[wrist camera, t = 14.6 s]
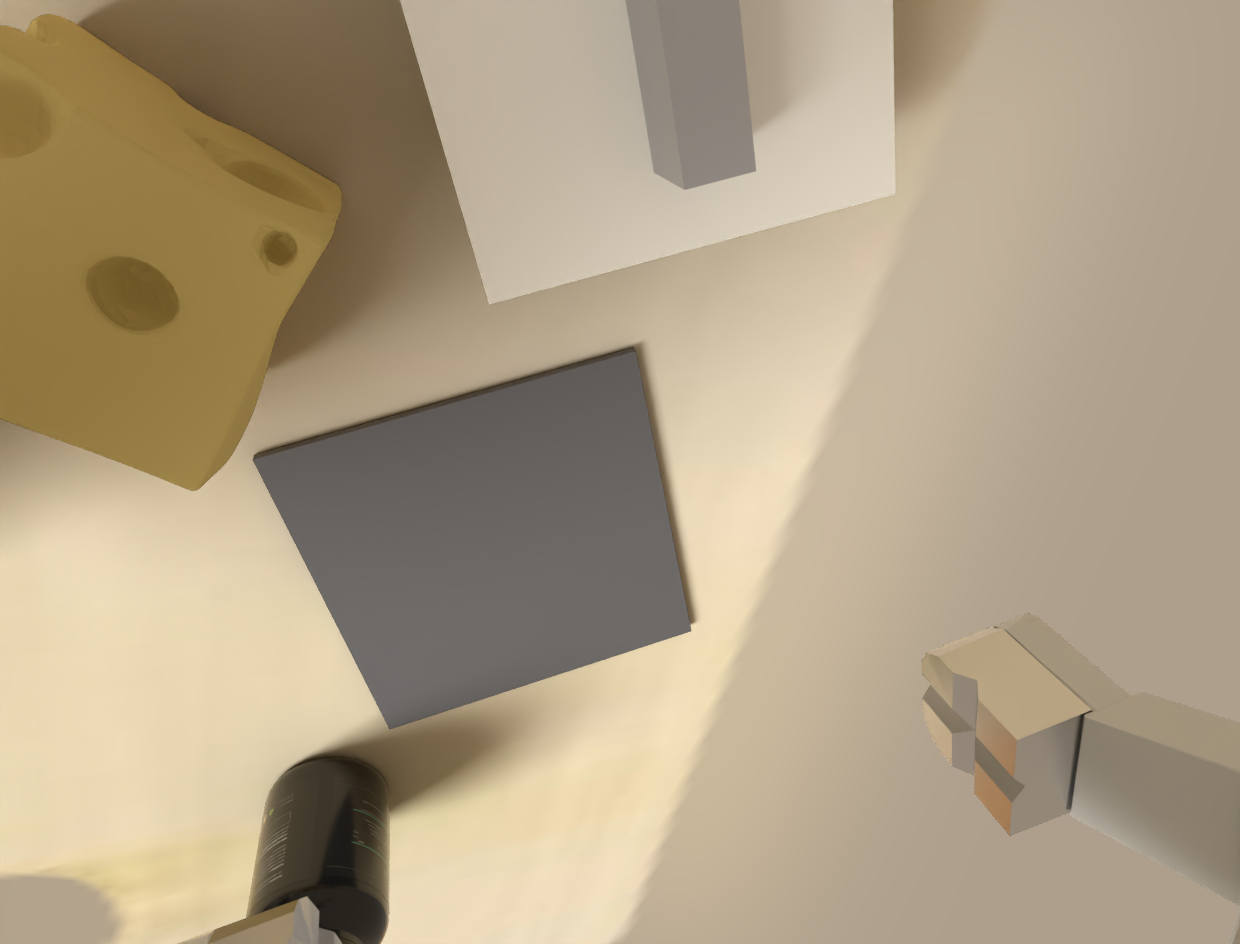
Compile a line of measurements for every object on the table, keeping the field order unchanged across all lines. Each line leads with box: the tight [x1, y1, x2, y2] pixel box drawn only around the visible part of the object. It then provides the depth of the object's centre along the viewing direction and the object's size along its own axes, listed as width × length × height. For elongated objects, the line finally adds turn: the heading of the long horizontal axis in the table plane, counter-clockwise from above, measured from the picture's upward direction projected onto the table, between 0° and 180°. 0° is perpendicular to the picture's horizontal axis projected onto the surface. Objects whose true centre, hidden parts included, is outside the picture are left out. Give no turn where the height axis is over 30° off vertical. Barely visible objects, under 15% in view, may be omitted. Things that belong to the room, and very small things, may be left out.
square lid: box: [400, 0, 896, 305], centre depth 24 cm, size 16×16×4 cm
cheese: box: [0, 14, 342, 491], centre depth 27 cm, size 10×11×10 cm
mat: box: [253, 348, 691, 729], centre depth 42 cm, size 18×18×1 cm
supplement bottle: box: [246, 757, 390, 944], centre depth 42 cm, size 7×7×12 cm
